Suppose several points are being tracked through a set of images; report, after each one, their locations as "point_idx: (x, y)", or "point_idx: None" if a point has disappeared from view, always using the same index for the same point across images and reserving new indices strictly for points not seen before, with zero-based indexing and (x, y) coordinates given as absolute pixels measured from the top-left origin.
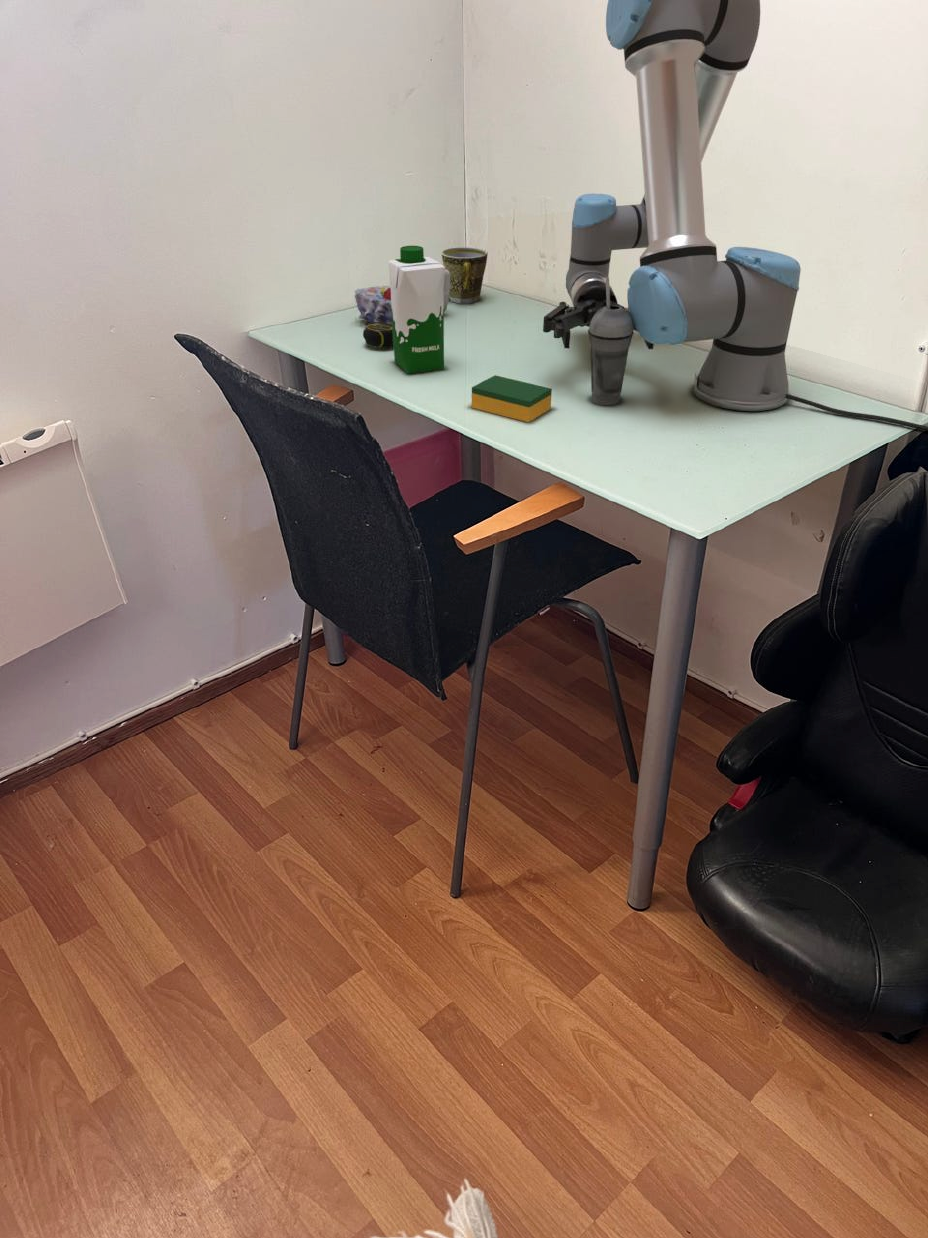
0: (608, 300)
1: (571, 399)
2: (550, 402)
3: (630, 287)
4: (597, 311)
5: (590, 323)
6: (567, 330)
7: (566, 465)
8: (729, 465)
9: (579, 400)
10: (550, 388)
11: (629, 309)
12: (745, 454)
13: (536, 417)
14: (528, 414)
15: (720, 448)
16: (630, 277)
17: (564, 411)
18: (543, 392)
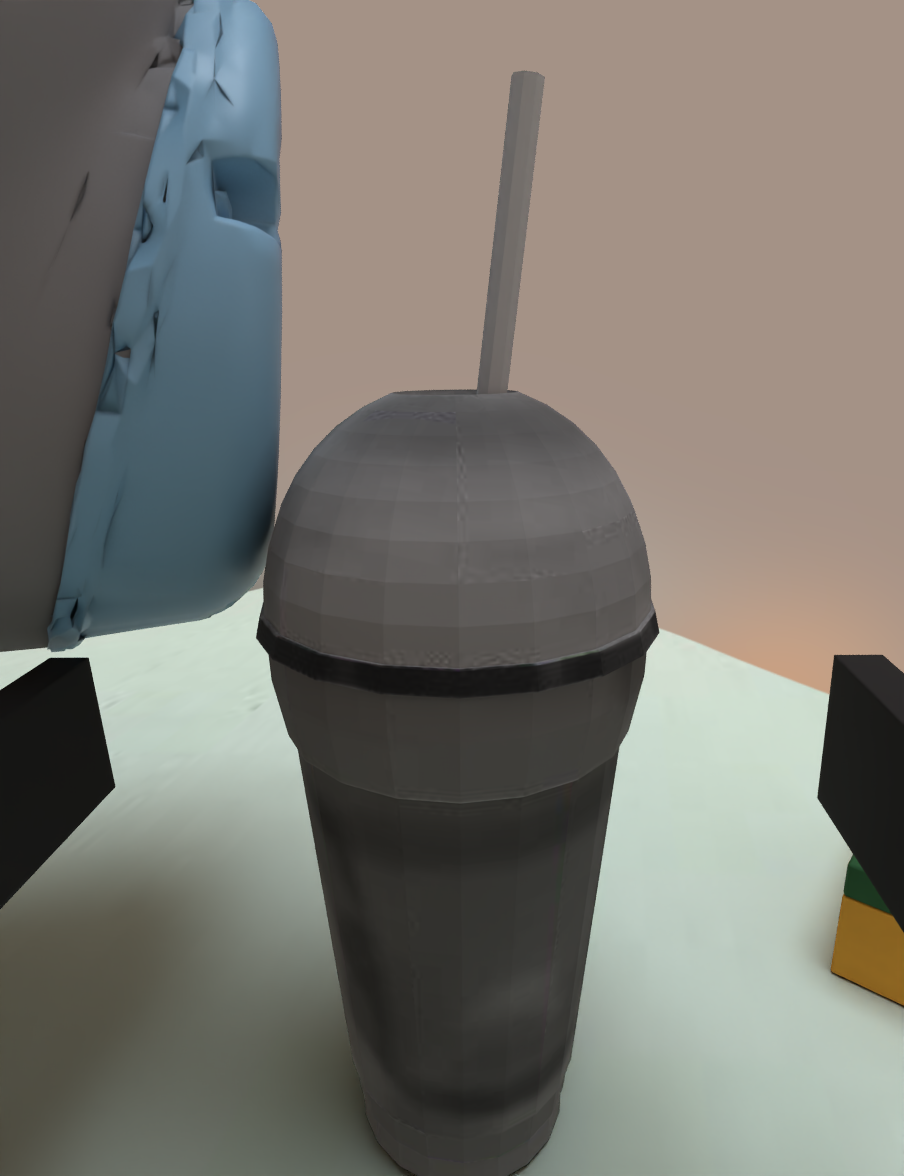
0: (500, 324)
1: (719, 1128)
2: (838, 930)
3: (280, 208)
4: (588, 453)
5: (645, 550)
6: (879, 672)
7: (669, 647)
8: (245, 645)
9: (655, 1104)
10: (858, 865)
11: (278, 442)
12: (158, 674)
13: None
14: None
15: (200, 693)
16: (274, 95)
17: (736, 942)
18: None
